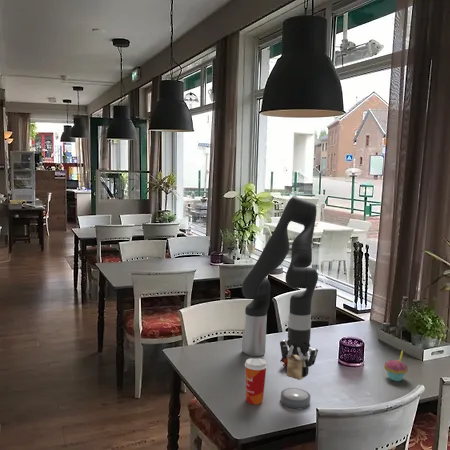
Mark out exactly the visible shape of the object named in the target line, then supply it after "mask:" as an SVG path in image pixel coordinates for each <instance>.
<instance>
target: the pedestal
mask: <svg viewBox="0 0 450 450" xmlns="http://www.w3.org/2000/svg"><path fill="white" fill-rule="evenodd" d="M280 404H282V405H283V406H284V407H287V408H289V407H290V408H289V409H294V408H302V409H306V408H308V407H309V406H310V404H311V394H310V393H309V392H308V391H306V390H304V389H301V388H297V387H289V388H284V389H283V390H281V392H280ZM305 407H306V408H305Z"/></svg>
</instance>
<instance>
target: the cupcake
mask: <svg viewBox="0 0 450 450" xmlns="http://www.w3.org/2000/svg"><path fill="white" fill-rule="evenodd" d="M403 351H404V349H402V351H401V352H400V355H399V359H390V360H387V361H386V362H385V363H384V365H383V367H384V370H385V371H386V372H387V374H388V379H389V380H391V381H394V382H401V381H403V378H404V376H405V374H407V373H408V369H409V368H408V365H407V364H406V363H405V362H403V361H402V358H403V354H404V352H403Z"/></svg>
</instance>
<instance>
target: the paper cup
mask: <svg viewBox="0 0 450 450" xmlns="http://www.w3.org/2000/svg"><path fill="white" fill-rule="evenodd" d="M267 367H268V364H267V362H266V360H265V359H264V358H263V359H262V358H261V357H258V358H257V357H253V358H252V357H250V358H248V359H246V360H245V362H244V368H245V399H246V400H245V401H246V402H247V403H248V404H250V405H255V406H257V405H260V404H262V403H263V400H264V393H265V382H266V372H267Z"/></svg>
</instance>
